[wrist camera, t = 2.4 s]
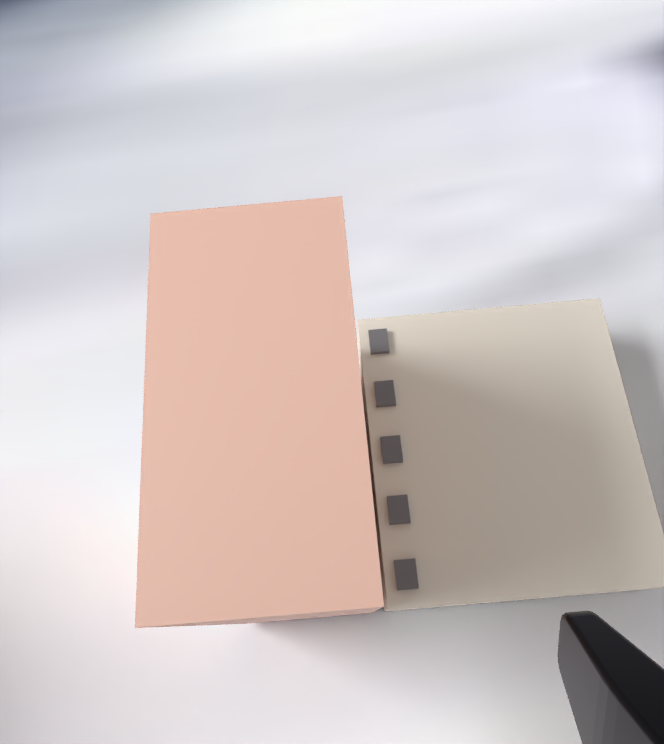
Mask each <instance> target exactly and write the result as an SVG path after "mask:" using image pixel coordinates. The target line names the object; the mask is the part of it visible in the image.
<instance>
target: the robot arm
mask: <svg viewBox="0 0 664 744" xmlns="http://www.w3.org/2000/svg"><path fill="white" fill-rule="evenodd" d="M558 664H559V669H560V673H561V676H562V679H563V683H564V686H565V689H566V692H567V695H568V699H569V702H570V705H571V708H572V711H573V715H574V718H575V721H576V724H577V727H578V731H579V734H580V737H581V740H582V743H583V744H664V669H663V668H662V667H661V666H660V665H658V664H657V663H656V662H655V661H653V660H652V659H651V658H650V657H648V656H647V655H646V654H645V653H643V652H642V651H641V650H640V649H638V648H637V647H636V646H635V645H634V644H632V643H631V642H630V641H629V640H627V639H626V638H625V637H624V636H622V635H621V634H620V633H619V632H617V631H616V630H615V629H614V628H613V627H611V626H610V625H609V624H608V623H606V622H605V621H604V620H603V619H601V618H600V617H599V616H598V615H596V614H595V613H593V612H591V611H580V612H569V613H565V614H563V615H562V617H561V621H560V633H559V645H558Z"/></svg>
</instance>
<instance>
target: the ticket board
mask: <svg viewBox="0 0 664 744" xmlns="http://www.w3.org/2000/svg"><path fill="white" fill-rule="evenodd" d="M358 356H359V366H360V375H361V385H362V395H363V405H364V414H365V424H366V434H367V443H368V453H369V463H370V473H371V482H372V492H373V502H374V512H375V521H376V531H377V541H378V551H379V560H380V570H381V580H382V589H383V599H384V609H385V611H397V610H409V609H420V608H432V607H444V606H456V605H468V604H480V603H492V602H503V601H515V600H527V599H539V598H551V597H563V596H574V595H586V594H598V593H610V592H622V591H634V590H644V589H654V588H663V587H664V533H663V529H662V526H661V522H660V518H659V515H658V511H657V507H656V504H655V500H654V496H653V493H652V489H651V485H650V482H649V478H648V474H647V471H646V467H645V463H644V460H643V456H642V452H641V449H640V445H639V441H638V438H637V434H636V430H635V426H634V423H633V419H632V415H631V412H630V408H629V404H628V401H627V397H626V393H625V390H624V386H623V382H622V379H621V375H620V371H619V368H618V364H617V360H616V357H615V353H614V349H613V346H612V342H611V338H610V335H609V331H608V327H607V324H606V320H605V316H604V313H603V309H602V305H601V301H600V298H597V299H586V300H575V301H563V302H552V303H541V304H530V305H518V306H507V307H496V308H485V309H473V310H462V311H451V312H440V313H428V314H417V315H406V316H395V317H383V318H372V319H361V320H358Z"/></svg>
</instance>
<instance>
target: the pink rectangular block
mask: <svg viewBox="0 0 664 744" xmlns="http://www.w3.org/2000/svg"><path fill="white" fill-rule="evenodd" d="M383 607H384V601H383V591H382V581H381V572H380V562H379V552H378V542H377V533H376V523H375V513H374V503H373V494H372V484H371V474H370V464H369V455H368V445H367V435H366V426H365V416H364V406H363V396H362V387H361V377H360V367H359V357H358V348H357V338H356V328H355V318H354V309H353V299H352V289H351V279H350V270H349V260H348V250H347V240H346V231H345V221H344V211H343V201H342V196H339V197H328V198H317V199H306V200H295V201H284V202H273V203H262V204H251V205H240V206H229V207H218V208H207V209H196V210H185V211H174V212H163V213H152V214H151V220H150V246H149V273H148V299H147V326H146V352H145V379H144V405H143V432H142V458H141V484H140V511H139V537H138V564H137V590H136V617H135V628H143V627H170V626H196V625H223V624H246V623H258V622H270V621H282V620H293V619H305V618H317V617H329V616H341V615H353V614H365V613H373V612H375V611H377V610H379V609H381V608H383Z"/></svg>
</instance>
